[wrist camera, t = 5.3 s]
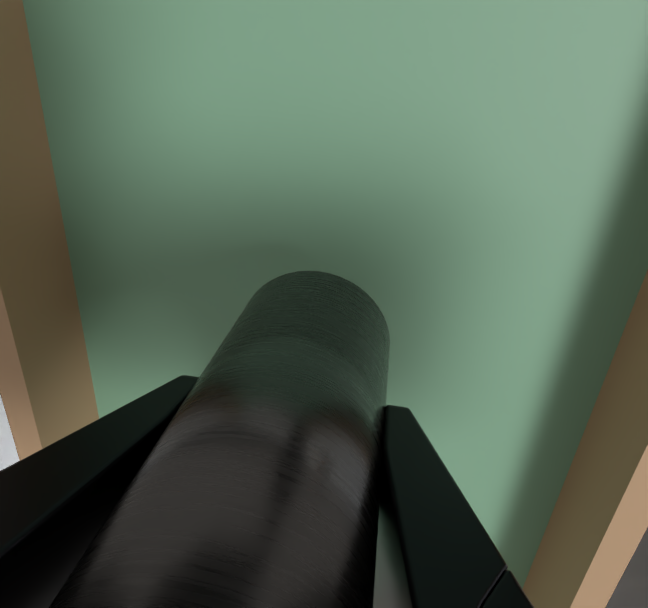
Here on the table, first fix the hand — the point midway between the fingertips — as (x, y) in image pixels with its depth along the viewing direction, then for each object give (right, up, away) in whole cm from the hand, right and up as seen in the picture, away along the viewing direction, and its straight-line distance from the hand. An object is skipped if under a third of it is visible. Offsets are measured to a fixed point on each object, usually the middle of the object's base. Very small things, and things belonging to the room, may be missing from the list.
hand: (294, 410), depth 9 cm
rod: (0, -4, +7) cm, 7 cm away
